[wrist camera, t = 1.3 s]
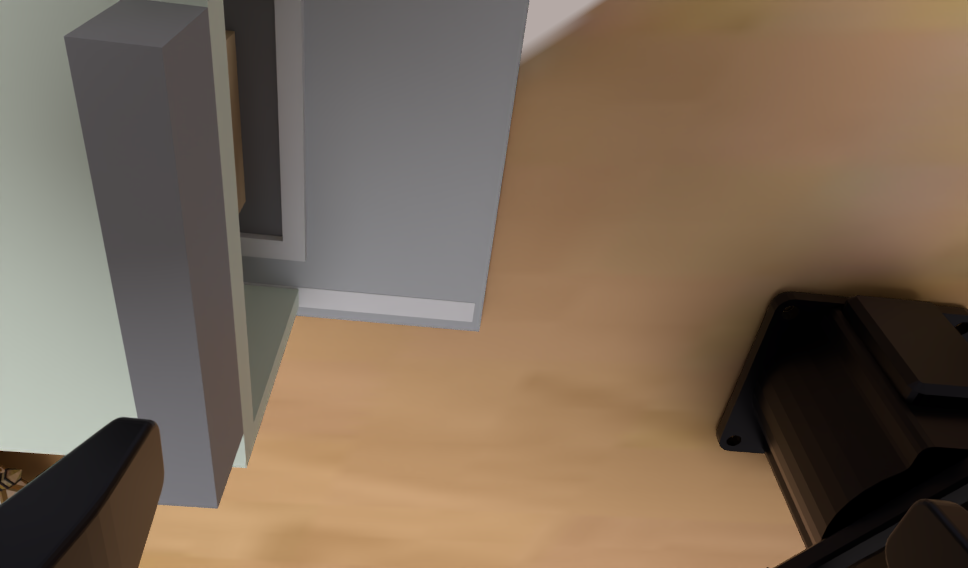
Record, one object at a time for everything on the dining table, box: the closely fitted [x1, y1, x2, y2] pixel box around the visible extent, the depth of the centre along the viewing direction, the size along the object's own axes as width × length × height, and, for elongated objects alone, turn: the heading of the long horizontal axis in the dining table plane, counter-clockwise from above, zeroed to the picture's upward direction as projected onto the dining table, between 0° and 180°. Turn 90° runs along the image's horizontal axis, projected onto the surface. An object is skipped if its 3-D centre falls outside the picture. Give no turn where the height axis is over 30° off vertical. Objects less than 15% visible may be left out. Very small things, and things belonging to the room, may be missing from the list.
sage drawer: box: [0, 0, 299, 508], centre depth 15 cm, size 11×7×8 cm, turn 173°
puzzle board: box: [223, 0, 529, 332], centre depth 18 cm, size 12×24×1 cm, turn 83°
